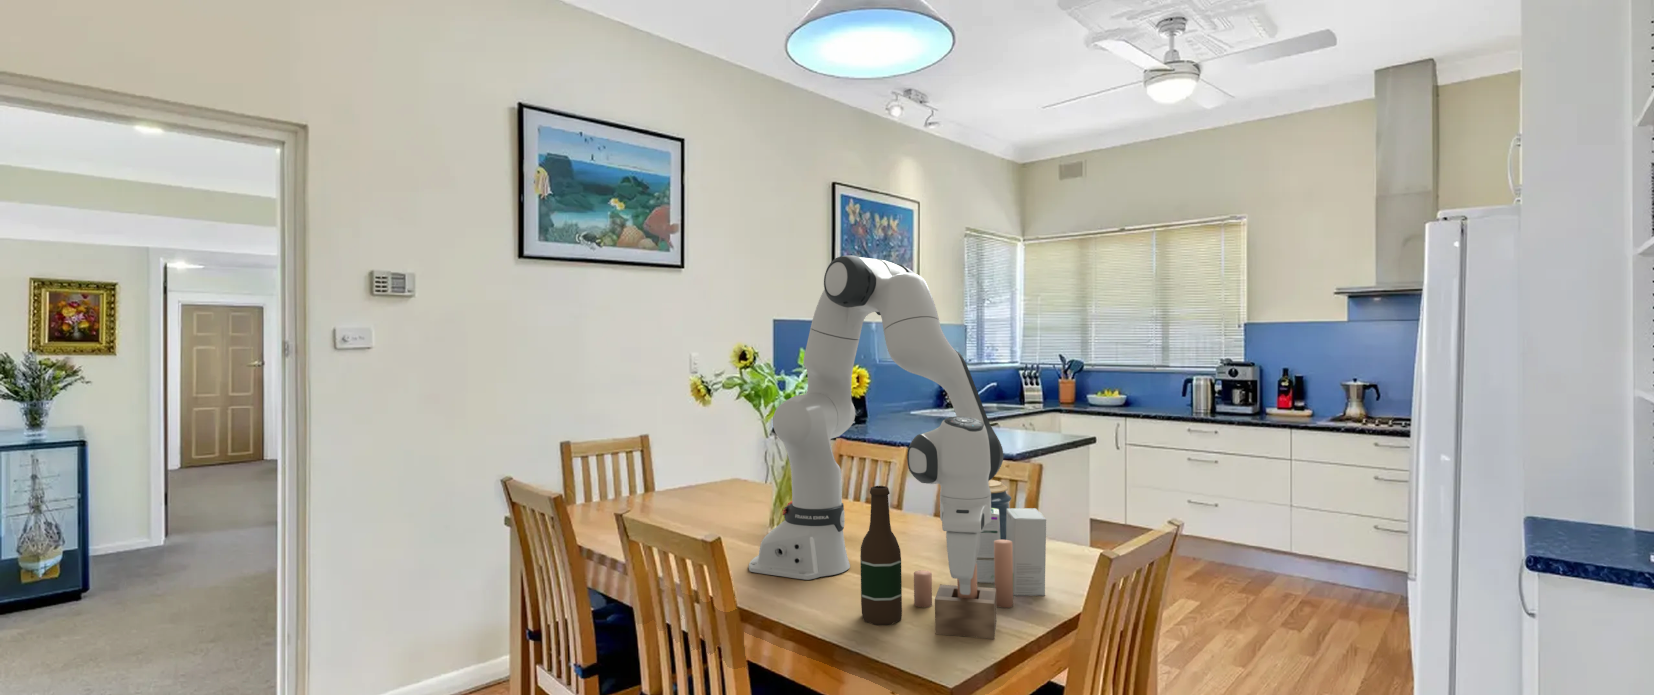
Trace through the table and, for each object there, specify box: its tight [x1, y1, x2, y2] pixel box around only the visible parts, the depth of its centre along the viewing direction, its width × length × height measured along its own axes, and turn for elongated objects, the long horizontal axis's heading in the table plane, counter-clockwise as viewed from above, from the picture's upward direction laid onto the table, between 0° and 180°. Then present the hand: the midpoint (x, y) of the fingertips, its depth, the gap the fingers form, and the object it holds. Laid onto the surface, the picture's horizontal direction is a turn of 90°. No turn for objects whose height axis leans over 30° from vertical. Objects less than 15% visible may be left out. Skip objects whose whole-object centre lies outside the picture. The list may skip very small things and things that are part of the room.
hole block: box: [934, 584, 997, 640], centre depth 134 cm, size 10×8×6 cm
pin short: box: [913, 569, 933, 608], centre depth 146 cm, size 3×3×6 cm
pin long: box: [994, 540, 1014, 609], centre depth 145 cm, size 3×3×12 cm
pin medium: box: [956, 564, 978, 599], centre depth 134 cm, size 3×3×9 cm
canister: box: [988, 479, 1012, 540], centre depth 186 cm, size 13×13×18 cm
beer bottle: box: [859, 485, 903, 626], centre depth 139 cm, size 8×8×24 cm
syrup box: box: [976, 508, 1001, 584], centre depth 160 cm, size 6×6×14 cm
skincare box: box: [1006, 507, 1047, 597], centre depth 153 cm, size 8×7×16 cm
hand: (966, 588), depth 134 cm, fingers closed on pin medium, 3 cm apart
